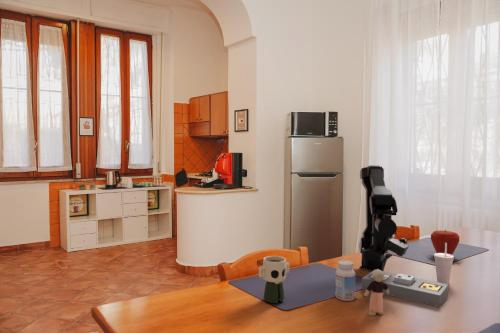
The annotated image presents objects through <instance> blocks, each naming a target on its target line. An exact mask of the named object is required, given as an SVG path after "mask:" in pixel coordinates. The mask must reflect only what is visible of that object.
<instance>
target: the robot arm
mask: <svg viewBox="0 0 500 333" xmlns="http://www.w3.org/2000/svg"><path fill="white" fill-rule="evenodd" d="M384 170H385V168H383V166H381V165H376V164H375V165H372V164H371V165H367V167H366V166H365V167H362V168H361V169H360V170H359V171H360V172H359V178H360V180H361V185H362V187H364V190H365V228H364V230H363V231H362V233H361V237H360V238H359V244H358V248H359V249H358V250H359V251H358V252H359V253H360V254H361V265H359V269H362V270H363V269H364V270H368V271H371V272H372V271H374V270H376V269H379V270H381V271H382V272H383V271H384V272H385V267H386V264H387V261H388V260H389V259H390V258H392V256H393V254H390V253H389V251H390V252H392V253H394V254H396V255H397V256H398V257H403V256H404V255H406V253H407V250H408V249H409V244H408V241H407V239H406V238H404V237H402V238H400V239H398V238H397V239H396V238H394V235H395V234H396V232H398V231H397V230H398V226H397V223H396V222H395V221H394V220H393V219H392V216H397V213H398V204H397V201H396V199H395V197H394V195H393V193H392V191H391V190H390V189H389V188H387V187H386V183H385V179H384V178H385V171H384Z"/></svg>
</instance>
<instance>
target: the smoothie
mask: <svg viewBox="0 0 500 333" xmlns="http://www.w3.org/2000/svg"><path fill="white" fill-rule="evenodd" d="M433 258H434V264H435V274H436V282H439V283H444V284H449V283H450V278H451V273H452V268H453V261H454V260H455V256H454V254H452V255H450V254H447V243H445V253H436V252H435V253H434V254H433Z"/></svg>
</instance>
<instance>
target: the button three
mask: <svg viewBox="0 0 500 333" xmlns="http://www.w3.org/2000/svg"><path fill="white" fill-rule="evenodd" d="M420 288H424V289H429V290H433V291H438V292H439V291H440V289H441V286H437V285H432V284H427V283H424V284H423V285H422V286H421V287H420Z"/></svg>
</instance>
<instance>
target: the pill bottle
mask: <svg viewBox="0 0 500 333" xmlns="http://www.w3.org/2000/svg"><path fill="white" fill-rule="evenodd" d="M337 267H338V268H337V269H335V297H336V298H338V300H339V299H340V300H341V301H342V302H343V301H344V302H349V301H351V302H352V301H354V300H355V298H356V272H355V270H354V262H353V261H351V260H339V261H338V262H337Z"/></svg>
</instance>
